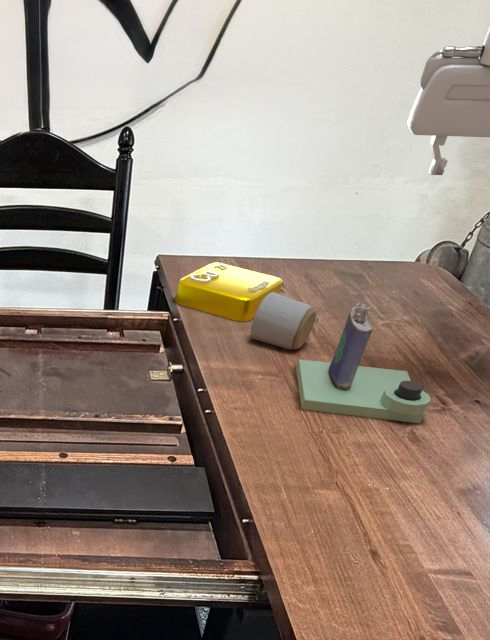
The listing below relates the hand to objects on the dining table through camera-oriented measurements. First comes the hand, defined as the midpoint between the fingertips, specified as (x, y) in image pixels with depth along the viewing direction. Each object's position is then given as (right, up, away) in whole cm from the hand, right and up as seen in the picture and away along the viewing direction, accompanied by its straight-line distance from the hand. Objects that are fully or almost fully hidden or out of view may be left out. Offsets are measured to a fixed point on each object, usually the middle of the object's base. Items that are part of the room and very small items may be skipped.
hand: (472, 175), depth 96 cm
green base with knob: (-11, -27, +10) cm, 31 cm away
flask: (-13, -24, +11) cm, 29 cm away
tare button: (-7, -29, +4) cm, 30 cm away
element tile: (-21, -2, +38) cm, 43 cm away
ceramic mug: (-16, -14, +25) cm, 33 cm away
